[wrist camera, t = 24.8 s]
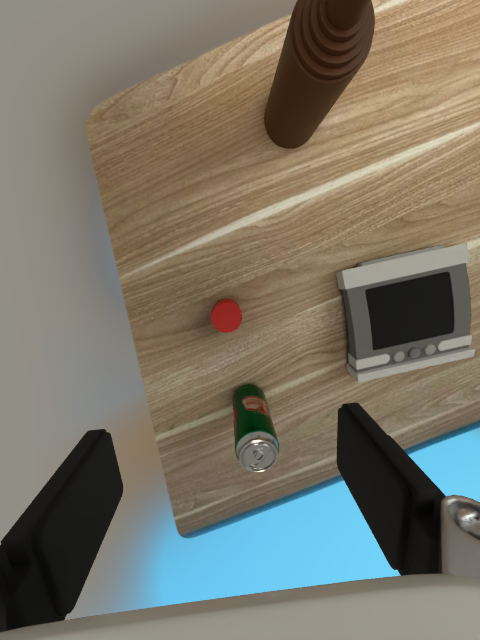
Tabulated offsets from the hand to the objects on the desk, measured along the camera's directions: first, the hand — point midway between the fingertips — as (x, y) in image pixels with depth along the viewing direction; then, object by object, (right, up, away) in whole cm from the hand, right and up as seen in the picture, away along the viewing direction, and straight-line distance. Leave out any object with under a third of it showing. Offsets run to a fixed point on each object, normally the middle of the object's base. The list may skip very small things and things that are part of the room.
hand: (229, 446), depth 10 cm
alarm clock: (+24, +7, +27) cm, 37 cm away
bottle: (+7, +30, +20) cm, 36 cm away
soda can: (+2, -7, +29) cm, 30 cm away
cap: (-1, +6, +25) cm, 26 cm away
